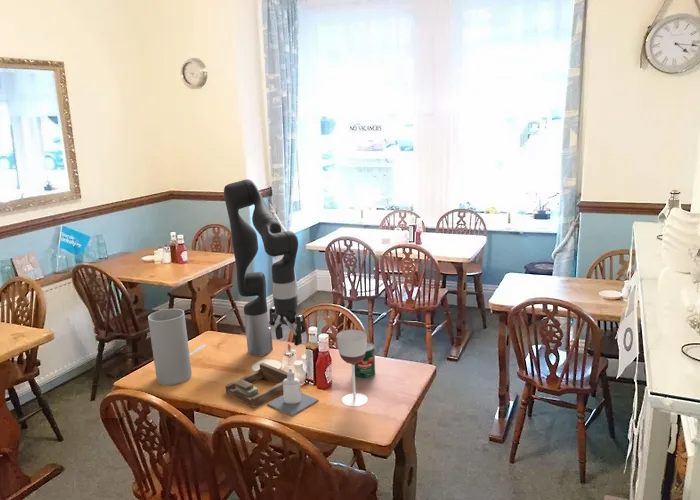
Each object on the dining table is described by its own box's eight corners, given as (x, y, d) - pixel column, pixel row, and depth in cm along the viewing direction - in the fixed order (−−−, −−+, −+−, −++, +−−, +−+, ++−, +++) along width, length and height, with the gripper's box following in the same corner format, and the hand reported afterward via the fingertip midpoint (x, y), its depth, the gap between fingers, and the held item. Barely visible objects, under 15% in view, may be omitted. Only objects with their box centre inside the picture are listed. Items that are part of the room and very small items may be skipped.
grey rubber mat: (293, 390, 198) (293, 389, 198) (318, 401, 190) (318, 399, 190) (267, 404, 189) (267, 403, 189) (292, 416, 182) (292, 415, 181)
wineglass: (360, 409, 184) (357, 343, 178) (334, 402, 189) (330, 337, 183) (374, 396, 191) (372, 333, 186) (349, 390, 196) (346, 327, 191)
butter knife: (209, 344, 240) (203, 343, 241) (167, 373, 216) (161, 372, 217) (209, 345, 240) (203, 344, 241) (167, 375, 216) (161, 373, 217)
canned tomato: (361, 381, 202) (360, 352, 200) (349, 373, 209) (348, 345, 206) (379, 375, 206) (378, 347, 204) (367, 367, 213) (366, 340, 210)
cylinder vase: (150, 379, 211) (141, 316, 205) (180, 367, 220) (172, 306, 214) (168, 389, 203) (159, 324, 197) (198, 376, 212) (190, 313, 205)
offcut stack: (242, 390, 200) (241, 377, 199) (259, 398, 194) (258, 385, 193) (233, 394, 197) (232, 382, 196) (250, 402, 192) (248, 390, 190)
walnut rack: (263, 375, 210) (262, 362, 209) (292, 387, 200) (291, 374, 199) (225, 393, 198) (224, 380, 197) (254, 407, 188) (253, 393, 187)
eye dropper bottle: (295, 406, 186) (293, 373, 183) (282, 402, 189) (279, 369, 186) (303, 400, 190) (301, 367, 187) (290, 396, 193) (287, 364, 190)
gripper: (309, 295, 178) (312, 343, 183) (278, 287, 188) (282, 332, 192) (291, 301, 173) (295, 351, 177) (261, 293, 182) (265, 340, 186)
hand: (288, 341), depth 184 cm, fingers open, 8 cm apart
